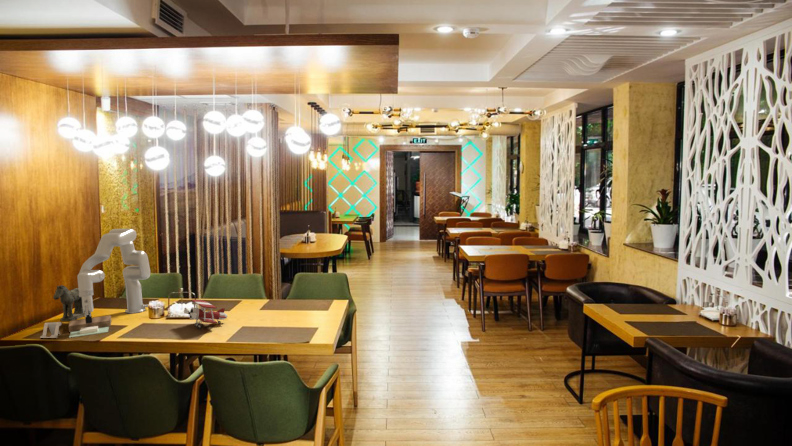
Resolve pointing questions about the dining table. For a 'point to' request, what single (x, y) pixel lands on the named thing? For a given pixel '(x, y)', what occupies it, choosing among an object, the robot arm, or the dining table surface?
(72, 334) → the mat
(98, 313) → the dining table surface
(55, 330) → the portable electronic device stand
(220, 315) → the toy airplane
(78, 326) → the deck
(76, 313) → the statue
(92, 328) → the cream rectangular block
